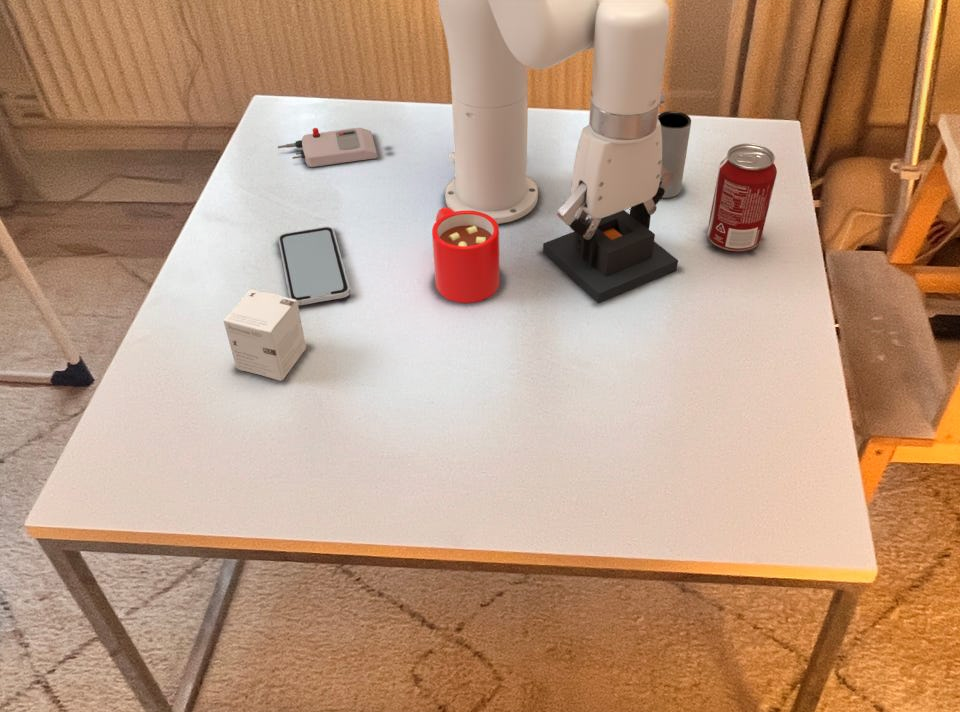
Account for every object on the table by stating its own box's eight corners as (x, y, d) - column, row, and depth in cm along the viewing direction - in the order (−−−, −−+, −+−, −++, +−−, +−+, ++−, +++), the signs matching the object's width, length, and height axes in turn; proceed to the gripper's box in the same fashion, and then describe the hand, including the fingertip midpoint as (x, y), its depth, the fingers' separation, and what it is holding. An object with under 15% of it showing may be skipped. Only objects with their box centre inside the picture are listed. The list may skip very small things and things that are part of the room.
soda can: (759, 258, 116) (780, 173, 107) (705, 252, 117) (721, 168, 108) (759, 227, 121) (779, 143, 112) (707, 222, 122) (722, 138, 113)
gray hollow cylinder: (687, 191, 127) (698, 121, 119) (662, 202, 125) (672, 132, 117) (665, 176, 129) (674, 107, 121) (640, 187, 127) (648, 117, 120)
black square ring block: (572, 248, 116) (574, 224, 113) (617, 230, 118) (620, 206, 116) (606, 276, 112) (608, 253, 109) (652, 257, 114) (655, 234, 112)
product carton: (235, 370, 105) (220, 320, 99) (262, 336, 108) (249, 286, 103) (283, 382, 103) (270, 332, 98) (308, 348, 107) (297, 297, 101)
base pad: (542, 253, 118) (543, 226, 115) (618, 223, 122) (621, 196, 119) (598, 303, 111) (600, 276, 108) (676, 270, 115) (681, 243, 112)
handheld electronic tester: (390, 157, 134) (388, 138, 132) (281, 172, 132) (278, 153, 130) (383, 134, 139) (381, 115, 137) (278, 148, 137) (274, 129, 135)
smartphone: (333, 225, 122) (351, 292, 112) (334, 231, 123) (352, 298, 112) (276, 234, 121) (290, 302, 111) (278, 240, 121) (291, 309, 111)
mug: (465, 239, 120) (463, 186, 114) (511, 290, 113) (511, 235, 107) (411, 258, 118) (405, 204, 112) (454, 310, 111) (450, 256, 105)
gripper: (664, 80, 107) (648, 212, 120) (538, 123, 101) (536, 257, 114) (707, 106, 102) (686, 241, 116) (578, 152, 97) (571, 288, 110)
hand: (611, 248), depth 115 cm, fingers open, 7 cm apart
